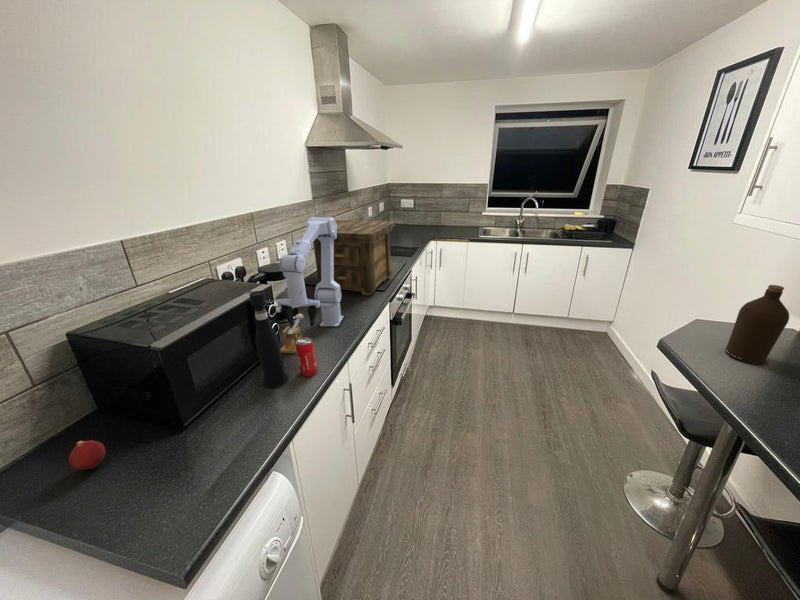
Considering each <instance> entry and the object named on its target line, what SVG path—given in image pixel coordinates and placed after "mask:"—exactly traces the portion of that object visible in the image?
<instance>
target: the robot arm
mask: <svg viewBox="0 0 800 600" xmlns="http://www.w3.org/2000/svg"><path fill="white" fill-rule="evenodd" d="M335 221H336V220H335V219H334V217H313V216H312V217H309V218H308V219H307V221H306V230H305V231H304V234H303V236H302V238H301V239H297V240H296V241H295V243H294V244H293V245H292V247H291V249H290V250H289V252H288V253H287V254H283V256H281V257H280V260H279V269H280V271H281V272H282V275H283V277H284V278H285V283H286V288H287V294H288V299H279V300H278V301H277V307H278V308H280V309H279V310H280V313H281V314H282V315H283V316H284V318H285V319H286V321H287V322H288V324H289V326H290V327H293V326H294V324H295V319H294V313H293V309H297V308H299V307H300V308H306V307H307V310H306V312H307V315H308V317H309V323H310V324H309V325H310V327H314V326H315V323H316V316H317V311H318V309H319V308H320V311H321V312H320V313H321V320H322V321H321V322H320V323H319V326H320V327H339V326H340V324H341V322H342V320H343V318H344V315H342V310H341V301H342V296H343V295H342V290H341V289H340V285H339V284H337V283H336V282H335V281H334V240H335V239H336V238H337V224H336V222H335ZM316 238H317V239H319V240H320V242H321V282H320V283H319V282H318V283H317V284H316V285H315V291H314V299H312V298H308V297H307V290H306V285H305V278H304V277H305V276H304V271H305V268H306V263H307V258H308V256H309V255H310V254H311V251H312V246H311V245H312V244H313V241H314V240H315V239H316ZM329 288H332V289H329Z"/></svg>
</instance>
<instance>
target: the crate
mask: <svg viewBox="0 0 800 600" xmlns="http://www.w3.org/2000/svg"><path fill="white" fill-rule="evenodd" d="M335 222H336V224H337V238H336V239H335V240H334V281H335V282H336V283H337V284H339V285H340V290H341V291H354V292H361V295H362V296H372V295H373V293H375V292H376V291H377V287H379V285H380V284H382V283H385V282H386V281H387V278H390V276H392V254H391V253H392V252H391V251H392V249H391V232H392V231H393V228H394V227H395V226H396V221H386V220H385V221H384V220H351V219H350V220H346V219H345V220H344V219H337V220H335ZM312 244H313V252H314V258H315V265H316V272H317V280H318V281H317V282H318V283H320V282H321V242H320V240H319V239H317V238H316V239H315V240H314V241H313V243H312ZM329 289H332V288H329Z"/></svg>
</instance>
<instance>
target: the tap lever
mask: <svg viewBox="0 0 800 600" xmlns="http://www.w3.org/2000/svg"><path fill="white" fill-rule="evenodd" d="M304 319H305V315H304V314H303V313H298V314H296V316H295V321H294V324H293V325H292V328H290V329H289V331H288V333H287V335H288V338H289V339H292V340H294V336H293V332H294V330H295V329H296V328H297V327H299V324H300V323H301V322H302V321H304Z"/></svg>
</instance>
